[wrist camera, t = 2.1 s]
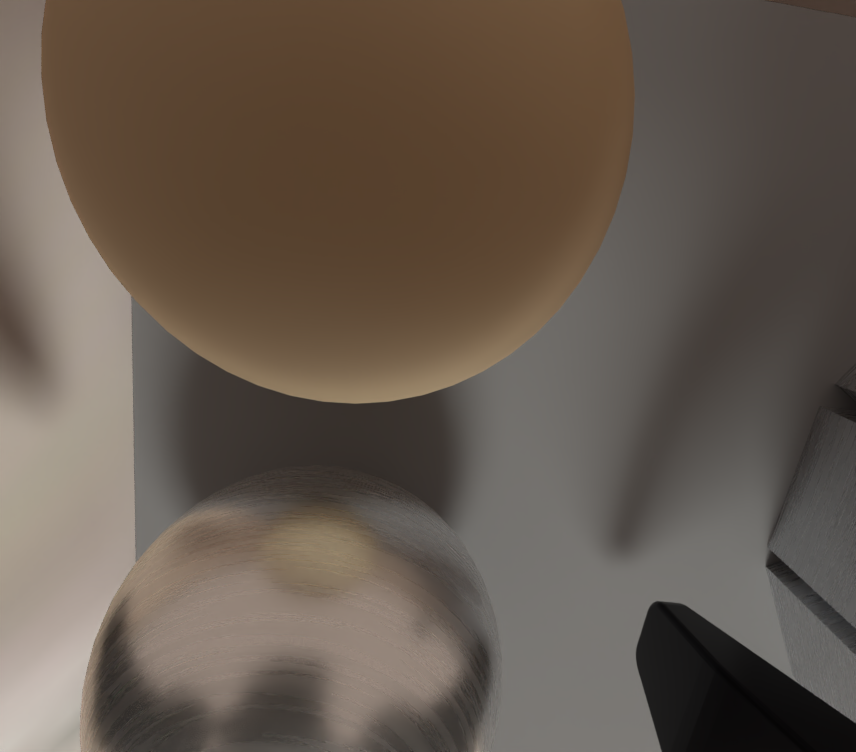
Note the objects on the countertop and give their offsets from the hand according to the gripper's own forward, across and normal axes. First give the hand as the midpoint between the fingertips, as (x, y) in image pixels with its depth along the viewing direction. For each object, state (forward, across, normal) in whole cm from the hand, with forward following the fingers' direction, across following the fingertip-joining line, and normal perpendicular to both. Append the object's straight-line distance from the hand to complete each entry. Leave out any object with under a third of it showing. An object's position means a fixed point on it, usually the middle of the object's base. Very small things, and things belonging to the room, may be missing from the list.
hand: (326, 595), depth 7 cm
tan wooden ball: (-1, 0, -6) cm, 6 cm away
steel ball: (-1, 0, 0) cm, 1 cm away
